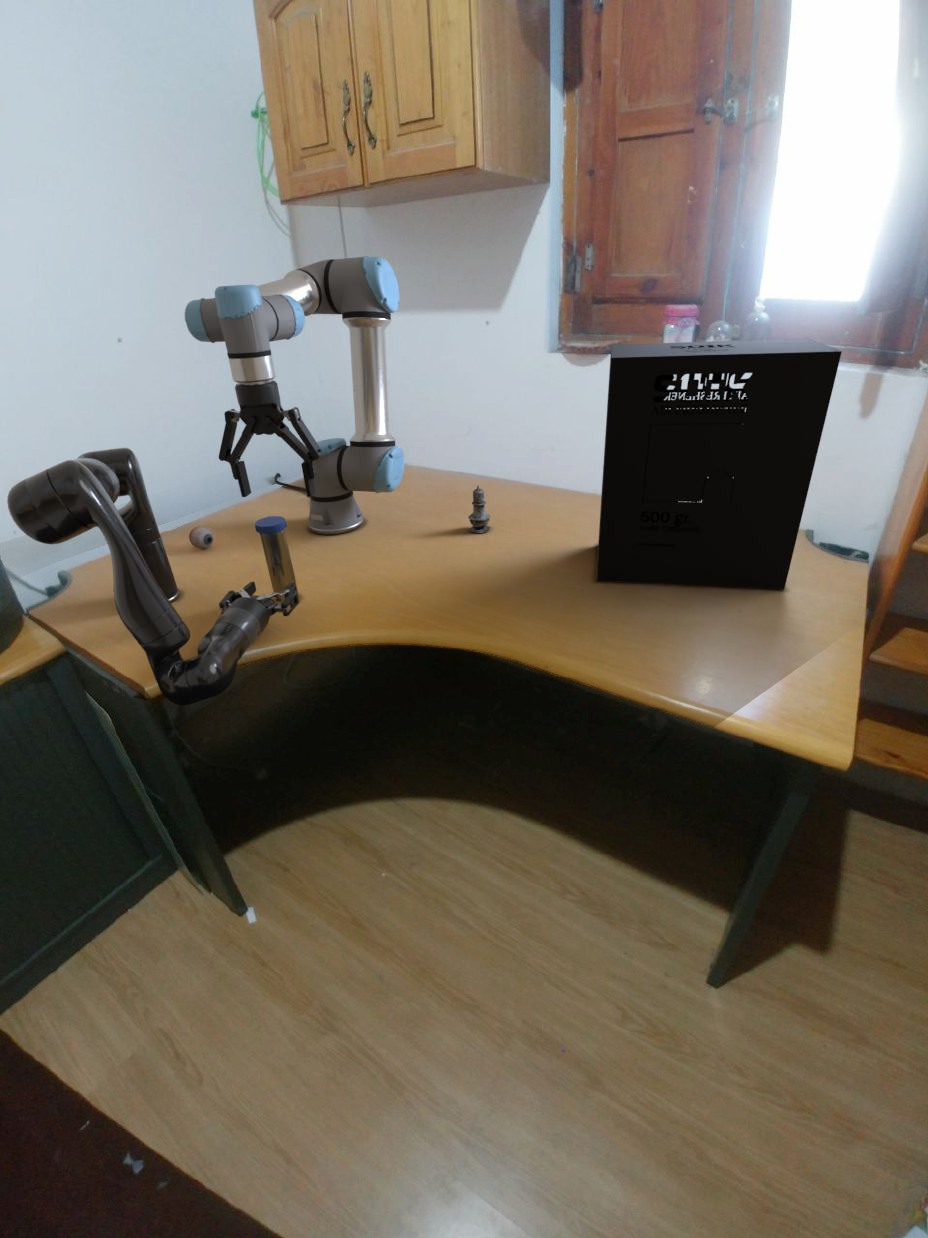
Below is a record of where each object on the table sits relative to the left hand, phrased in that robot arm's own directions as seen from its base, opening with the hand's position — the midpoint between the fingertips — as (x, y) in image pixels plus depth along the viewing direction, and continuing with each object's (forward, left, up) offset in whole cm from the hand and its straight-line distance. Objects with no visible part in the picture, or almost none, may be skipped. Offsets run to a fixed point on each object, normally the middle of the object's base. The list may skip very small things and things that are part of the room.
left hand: (273, 585), depth 124 cm
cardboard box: (+87, +22, -6) cm, 90 cm away
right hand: (+3, +6, +17) cm, 18 cm away
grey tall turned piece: (+39, +45, -6) cm, 60 cm away
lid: (0, +5, +12) cm, 13 cm away
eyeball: (-33, +33, -6) cm, 47 cm away
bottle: (0, +5, -6) cm, 8 cm away
